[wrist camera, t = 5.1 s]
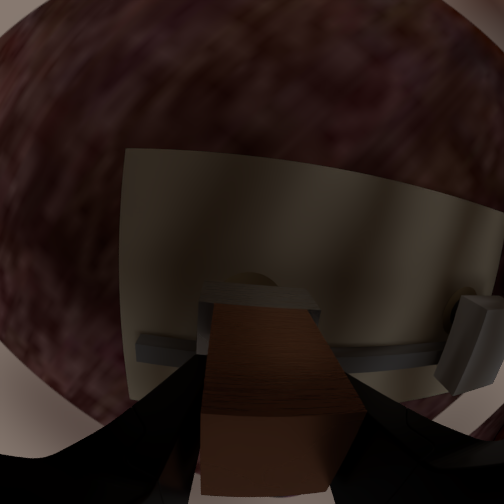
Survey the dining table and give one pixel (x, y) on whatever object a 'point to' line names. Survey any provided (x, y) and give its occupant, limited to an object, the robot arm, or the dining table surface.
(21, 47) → the dining table surface
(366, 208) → the board
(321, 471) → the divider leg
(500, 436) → the canned food
